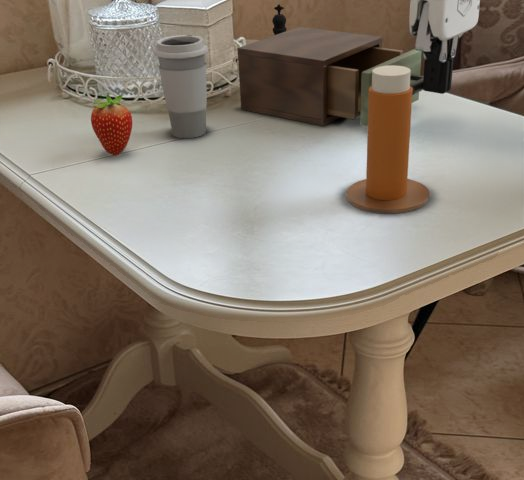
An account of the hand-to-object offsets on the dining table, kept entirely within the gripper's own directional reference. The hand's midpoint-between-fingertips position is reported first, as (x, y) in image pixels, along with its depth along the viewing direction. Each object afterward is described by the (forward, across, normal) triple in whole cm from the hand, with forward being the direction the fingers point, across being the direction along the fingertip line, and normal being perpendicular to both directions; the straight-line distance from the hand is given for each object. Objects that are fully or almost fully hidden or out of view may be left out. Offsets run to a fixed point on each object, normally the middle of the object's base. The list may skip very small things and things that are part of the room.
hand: (436, 90), depth 102 cm
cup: (+5, -19, +27) cm, 33 cm away
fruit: (+5, -30, +29) cm, 42 cm away
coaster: (+5, -23, -7) cm, 25 cm away
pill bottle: (+4, -23, -7) cm, 25 cm away
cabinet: (+5, 0, +20) cm, 21 cm away
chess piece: (+5, +14, +36) cm, 39 cm away
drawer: (+4, 0, +11) cm, 11 cm away
